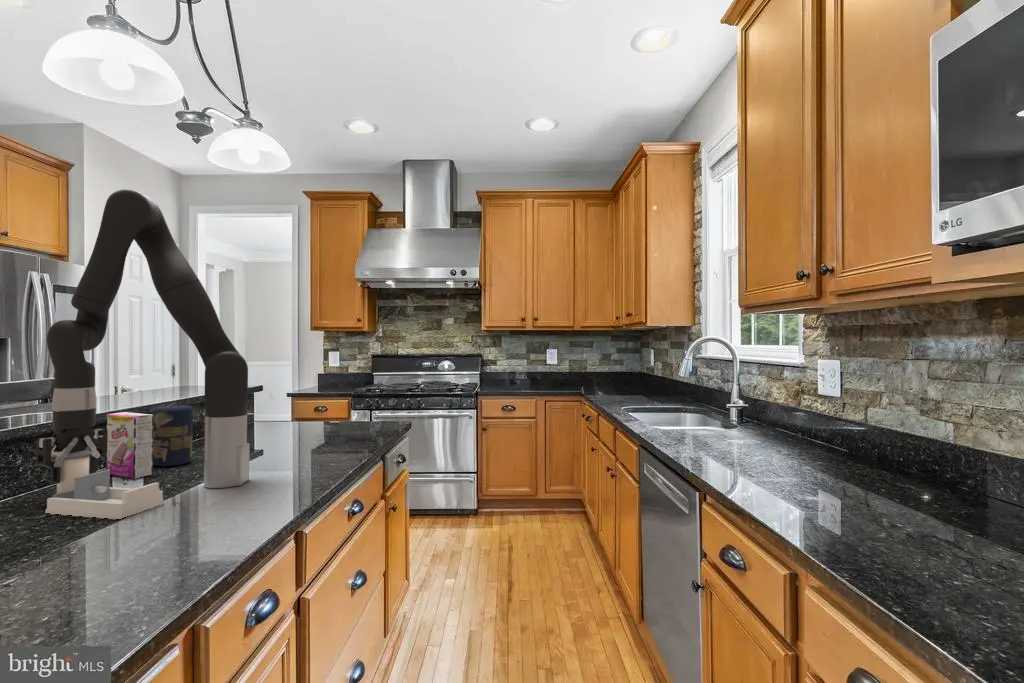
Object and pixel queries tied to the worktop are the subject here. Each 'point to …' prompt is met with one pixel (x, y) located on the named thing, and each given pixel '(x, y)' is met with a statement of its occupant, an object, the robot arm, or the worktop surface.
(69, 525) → the worktop surface
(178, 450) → the canister
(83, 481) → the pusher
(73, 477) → the jar
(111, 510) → the cream shallow rectangular tray
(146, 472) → the candy bar box
